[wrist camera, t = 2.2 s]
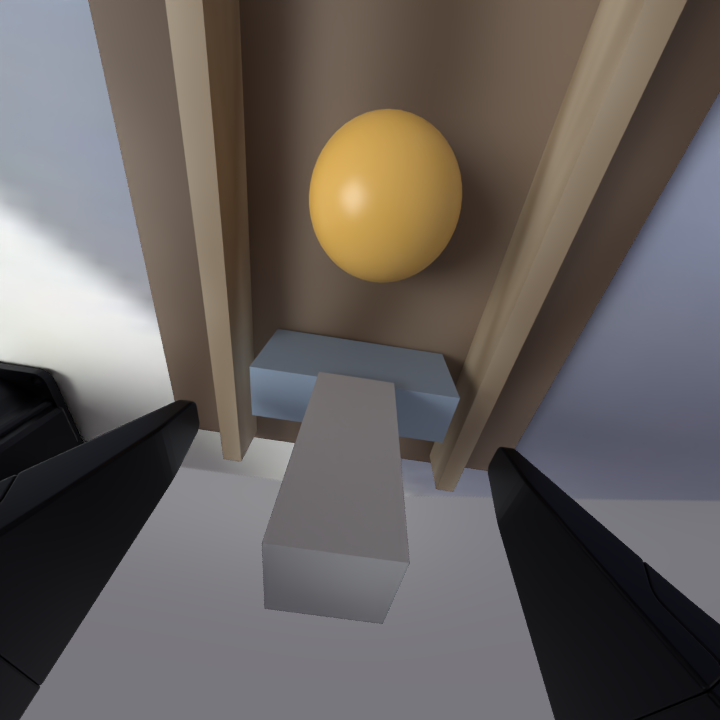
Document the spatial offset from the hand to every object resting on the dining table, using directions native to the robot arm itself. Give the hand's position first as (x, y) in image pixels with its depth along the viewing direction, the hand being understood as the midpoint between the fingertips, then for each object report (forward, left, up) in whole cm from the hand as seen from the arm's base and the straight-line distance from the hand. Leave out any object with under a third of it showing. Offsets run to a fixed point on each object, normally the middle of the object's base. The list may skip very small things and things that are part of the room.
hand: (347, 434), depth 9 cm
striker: (0, 0, -4) cm, 4 cm away
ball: (0, +6, -2) cm, 6 cm away
